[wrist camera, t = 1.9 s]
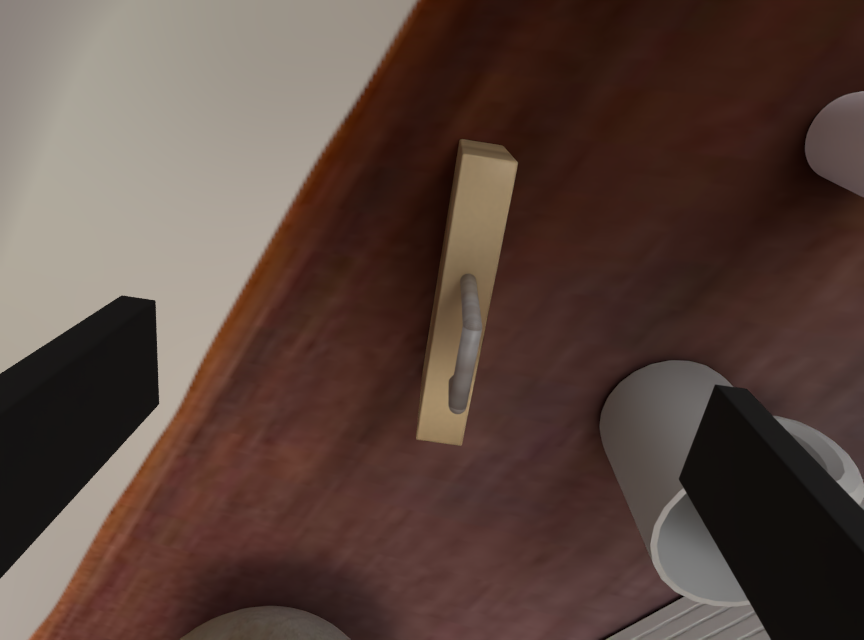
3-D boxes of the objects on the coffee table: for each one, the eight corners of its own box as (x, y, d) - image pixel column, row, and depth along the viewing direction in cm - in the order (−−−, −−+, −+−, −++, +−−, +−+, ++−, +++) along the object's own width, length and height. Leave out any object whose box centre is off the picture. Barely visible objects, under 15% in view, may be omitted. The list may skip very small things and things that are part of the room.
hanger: (459, 138, 26) (466, 171, 16) (503, 145, 26) (537, 183, 16) (421, 375, 30) (408, 518, 20) (459, 380, 30) (464, 525, 20)
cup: (595, 362, 30) (652, 469, 21) (797, 343, 29) (936, 446, 21) (597, 477, 32) (648, 612, 24) (782, 462, 32) (899, 596, 23)
